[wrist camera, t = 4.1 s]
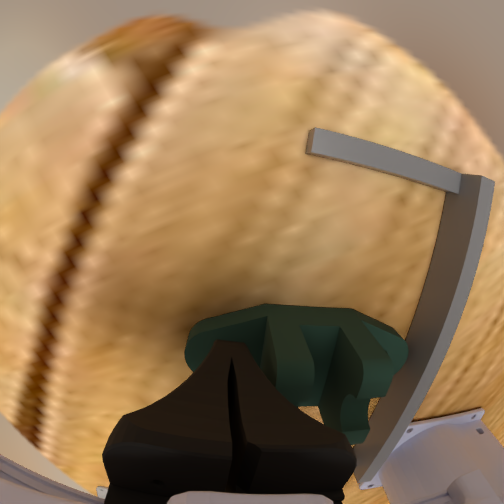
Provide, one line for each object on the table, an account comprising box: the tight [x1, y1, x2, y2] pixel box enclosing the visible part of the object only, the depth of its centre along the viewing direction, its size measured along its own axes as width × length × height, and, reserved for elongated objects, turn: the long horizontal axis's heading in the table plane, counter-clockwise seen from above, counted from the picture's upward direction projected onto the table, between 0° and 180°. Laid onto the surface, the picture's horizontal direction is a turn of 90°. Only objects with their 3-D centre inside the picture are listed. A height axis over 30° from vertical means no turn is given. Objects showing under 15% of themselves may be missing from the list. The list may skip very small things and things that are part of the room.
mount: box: [185, 304, 409, 445], centre depth 12 cm, size 11×4×5 cm, turn 84°
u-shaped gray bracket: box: [306, 128, 495, 483], centre depth 13 cm, size 8×19×2 cm, turn 171°
